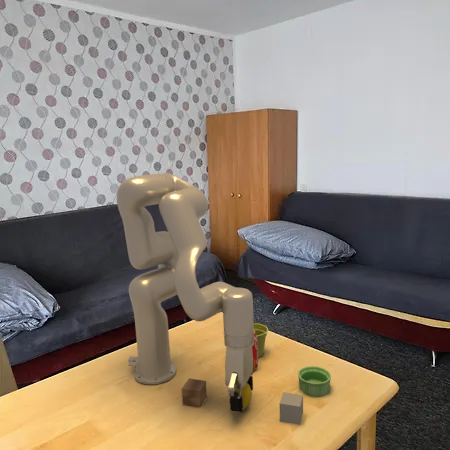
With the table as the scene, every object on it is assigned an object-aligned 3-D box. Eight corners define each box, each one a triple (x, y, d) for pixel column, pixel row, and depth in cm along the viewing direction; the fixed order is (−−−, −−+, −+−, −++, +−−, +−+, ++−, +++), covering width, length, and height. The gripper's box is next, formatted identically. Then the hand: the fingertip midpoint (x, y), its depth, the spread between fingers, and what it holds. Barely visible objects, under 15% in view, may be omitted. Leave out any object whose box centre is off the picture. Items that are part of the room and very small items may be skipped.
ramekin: (314, 402, 111) (314, 387, 110) (291, 387, 118) (291, 372, 117) (338, 390, 115) (338, 375, 115) (314, 376, 123) (314, 362, 122)
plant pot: (265, 363, 131) (264, 337, 130) (236, 359, 134) (235, 334, 133) (271, 349, 140) (270, 324, 139) (244, 346, 143) (243, 322, 142)
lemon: (239, 399, 113) (238, 372, 111) (256, 407, 109) (255, 379, 108) (226, 410, 109) (225, 381, 107) (243, 418, 105) (242, 389, 104)
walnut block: (182, 405, 112) (181, 388, 111) (189, 395, 116) (188, 378, 115) (200, 408, 110) (199, 391, 109) (206, 397, 115) (206, 380, 114)
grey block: (279, 421, 103) (279, 403, 103) (283, 409, 108) (283, 392, 107) (300, 425, 102) (300, 406, 101) (303, 412, 107) (303, 394, 106)
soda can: (256, 375, 125) (255, 337, 123) (233, 373, 126) (231, 335, 124) (259, 363, 132) (258, 327, 129) (237, 361, 133) (236, 325, 131)
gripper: (234, 322, 115) (237, 380, 118) (213, 352, 99) (217, 418, 101) (261, 325, 112) (264, 383, 115) (244, 355, 96) (247, 423, 99)
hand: (242, 399), depth 108 cm, fingers open, 9 cm apart
